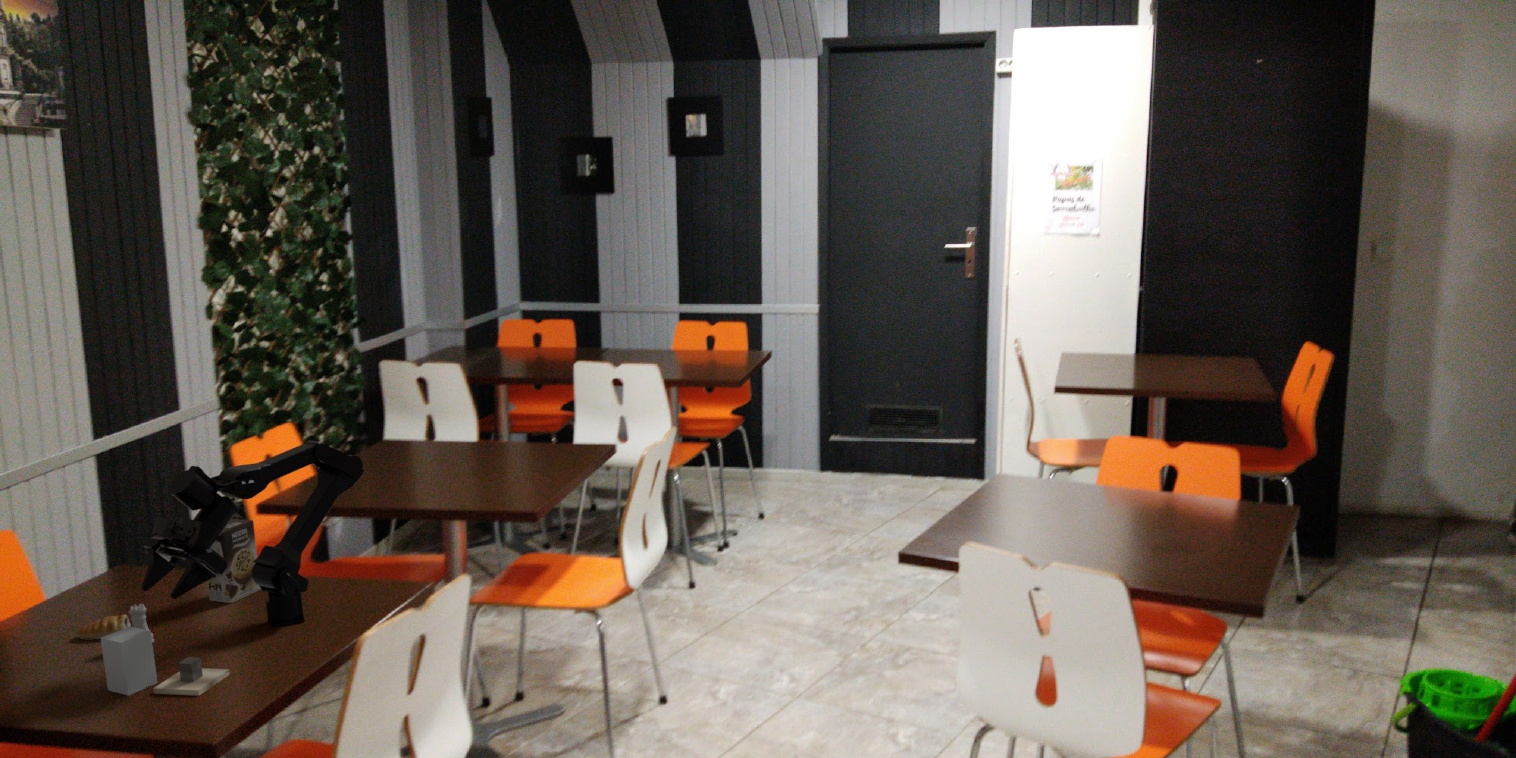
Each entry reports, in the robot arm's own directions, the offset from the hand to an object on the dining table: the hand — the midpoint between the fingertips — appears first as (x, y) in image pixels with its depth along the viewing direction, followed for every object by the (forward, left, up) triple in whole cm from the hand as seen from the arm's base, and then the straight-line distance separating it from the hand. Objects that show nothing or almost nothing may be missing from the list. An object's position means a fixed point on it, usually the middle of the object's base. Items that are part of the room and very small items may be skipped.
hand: (157, 594), depth 225 cm
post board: (-5, +11, -15) cm, 19 cm away
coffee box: (-12, -37, -15) cm, 42 cm away
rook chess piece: (+5, -15, -15) cm, 22 cm away
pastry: (+12, -25, -15) cm, 32 cm away
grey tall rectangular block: (+5, +7, -15) cm, 17 cm away
